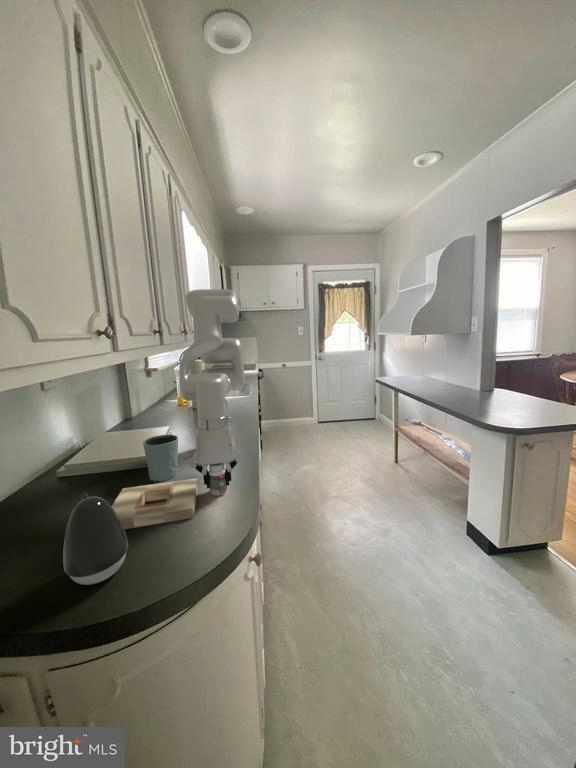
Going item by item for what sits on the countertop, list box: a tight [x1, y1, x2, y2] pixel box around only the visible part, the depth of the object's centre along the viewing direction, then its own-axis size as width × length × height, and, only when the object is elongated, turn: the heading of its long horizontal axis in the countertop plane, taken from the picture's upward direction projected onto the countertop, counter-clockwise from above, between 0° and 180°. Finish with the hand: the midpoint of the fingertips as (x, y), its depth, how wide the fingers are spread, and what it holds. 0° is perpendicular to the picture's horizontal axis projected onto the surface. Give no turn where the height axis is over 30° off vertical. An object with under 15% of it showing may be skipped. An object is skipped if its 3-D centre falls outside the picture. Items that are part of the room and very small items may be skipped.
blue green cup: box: [142, 434, 179, 482], centre depth 96 cm, size 10×10×12 cm
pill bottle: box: [208, 463, 228, 497], centre depth 84 cm, size 5×5×8 cm
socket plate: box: [111, 477, 199, 530], centre depth 78 cm, size 16×20×3 cm
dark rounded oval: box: [62, 492, 129, 586], centre depth 56 cm, size 10×10×15 cm
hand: (218, 484), depth 84 cm, fingers closed on pill bottle, 4 cm apart
